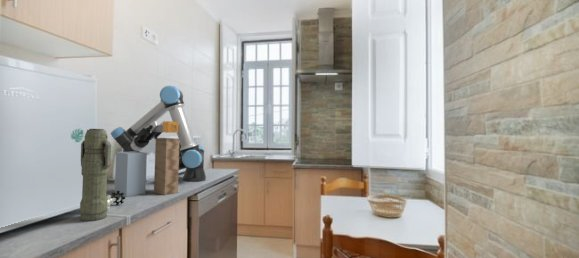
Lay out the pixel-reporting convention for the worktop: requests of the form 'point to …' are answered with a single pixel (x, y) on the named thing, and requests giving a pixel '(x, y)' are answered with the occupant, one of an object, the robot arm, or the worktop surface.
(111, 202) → the valve
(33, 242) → the worktop surface
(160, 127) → the lockout bar
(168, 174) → the wooden upright block
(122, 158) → the grey upright pillar
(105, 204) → the thermos
